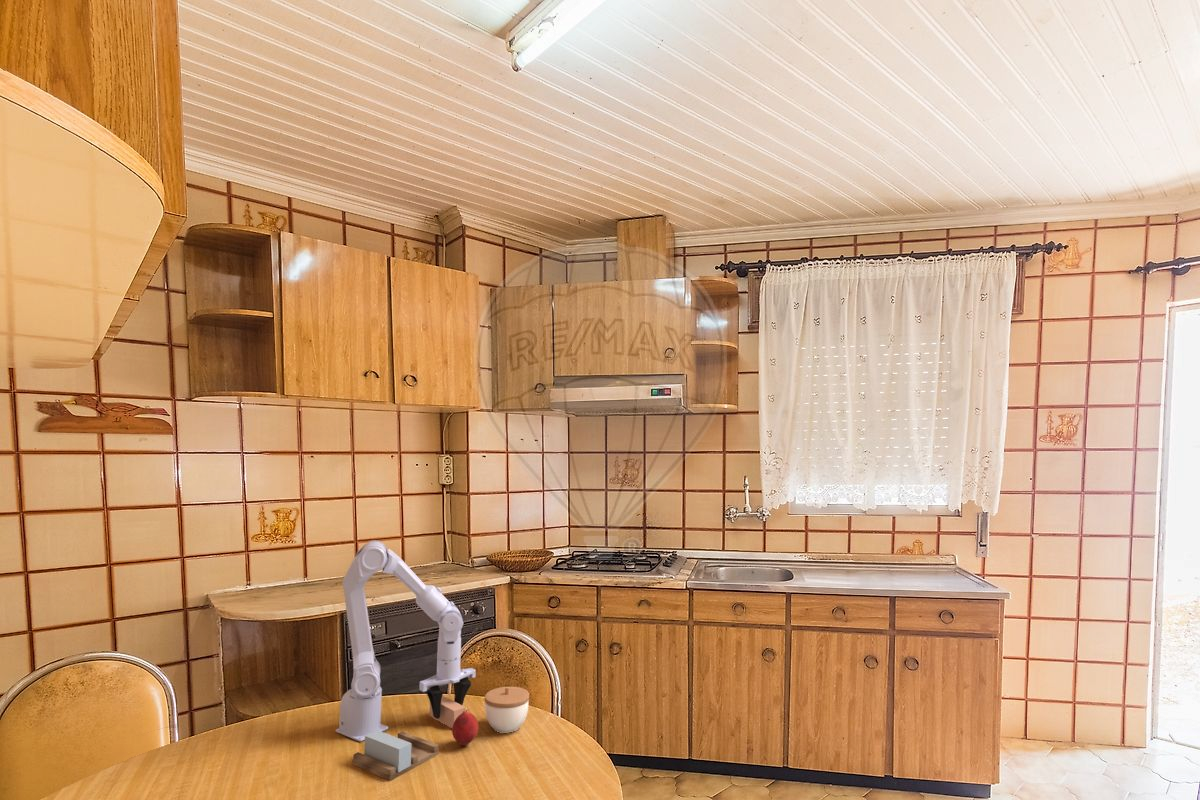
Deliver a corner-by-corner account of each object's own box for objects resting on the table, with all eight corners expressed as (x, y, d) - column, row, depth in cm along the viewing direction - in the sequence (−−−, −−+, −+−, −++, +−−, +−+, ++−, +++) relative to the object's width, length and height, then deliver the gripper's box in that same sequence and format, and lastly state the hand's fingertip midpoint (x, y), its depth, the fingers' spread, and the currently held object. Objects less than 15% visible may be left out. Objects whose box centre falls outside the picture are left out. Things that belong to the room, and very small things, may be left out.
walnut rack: (352, 764, 127) (353, 754, 127) (402, 740, 138) (402, 731, 138) (389, 780, 121) (390, 770, 121) (438, 754, 132) (438, 744, 132)
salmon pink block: (429, 716, 151) (430, 698, 151) (440, 713, 153) (441, 694, 154) (453, 730, 143) (454, 711, 144) (465, 726, 146) (465, 707, 146)
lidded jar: (506, 714, 152) (506, 676, 153) (537, 725, 146) (538, 685, 147) (474, 730, 143) (475, 689, 144) (506, 742, 137) (507, 700, 138)
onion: (471, 753, 132) (472, 715, 133) (447, 750, 133) (448, 713, 134) (481, 741, 138) (482, 704, 139) (458, 738, 139) (459, 702, 140)
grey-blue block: (363, 757, 128) (364, 735, 128) (376, 751, 131) (377, 730, 131) (398, 772, 122) (399, 749, 123) (410, 765, 125) (411, 743, 125)
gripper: (429, 668, 142) (427, 727, 141) (482, 654, 152) (481, 710, 150) (416, 660, 147) (414, 718, 146) (468, 648, 157) (466, 702, 156)
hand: (447, 713), depth 148 cm, fingers open, 5 cm apart
